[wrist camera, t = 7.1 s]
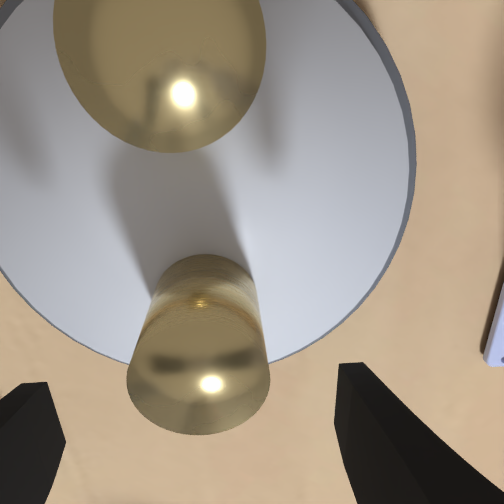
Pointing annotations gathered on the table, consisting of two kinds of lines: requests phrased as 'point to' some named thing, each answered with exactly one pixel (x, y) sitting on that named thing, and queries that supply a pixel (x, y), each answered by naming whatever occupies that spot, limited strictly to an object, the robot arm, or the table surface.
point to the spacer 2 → (201, 349)
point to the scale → (209, 184)
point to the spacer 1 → (162, 66)
